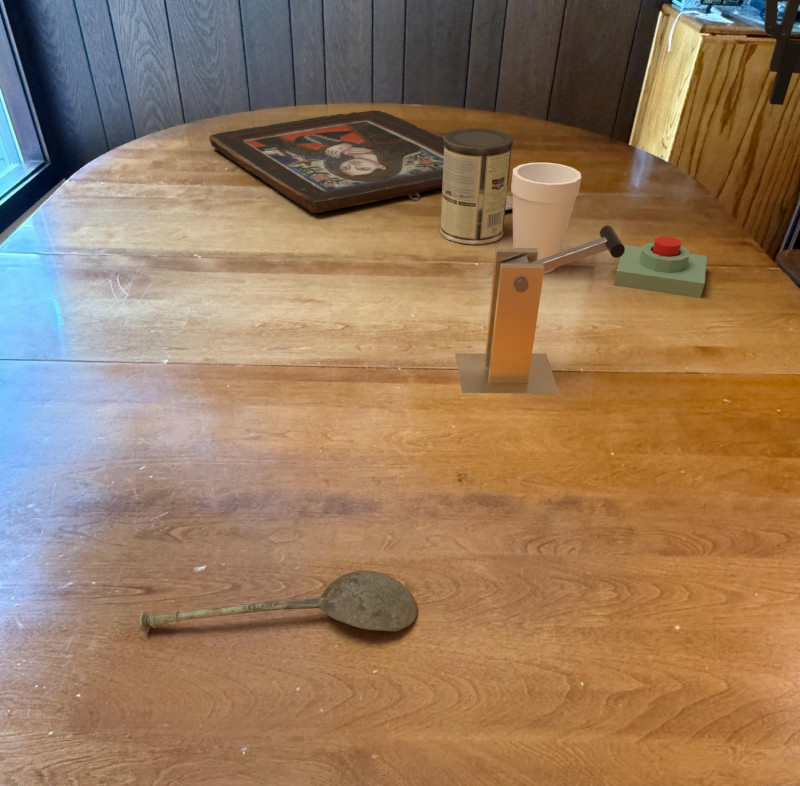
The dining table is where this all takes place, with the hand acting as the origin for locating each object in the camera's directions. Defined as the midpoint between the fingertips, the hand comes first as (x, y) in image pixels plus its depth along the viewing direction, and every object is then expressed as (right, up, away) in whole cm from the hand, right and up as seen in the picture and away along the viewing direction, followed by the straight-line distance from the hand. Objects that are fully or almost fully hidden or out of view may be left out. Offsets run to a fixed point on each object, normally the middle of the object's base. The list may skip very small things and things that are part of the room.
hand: (776, 101), depth 97 cm
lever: (-30, -26, -16) cm, 43 cm away
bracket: (-35, -36, -7) cm, 51 cm away
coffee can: (-36, -6, +27) cm, 45 cm away
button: (-10, -14, +13) cm, 22 cm away
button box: (-10, -17, +15) cm, 25 cm away
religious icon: (-57, +16, +51) cm, 78 cm away
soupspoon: (-57, -61, -34) cm, 90 cm away
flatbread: (-31, +2, +36) cm, 47 cm away
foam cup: (-27, -14, +18) cm, 36 cm away
